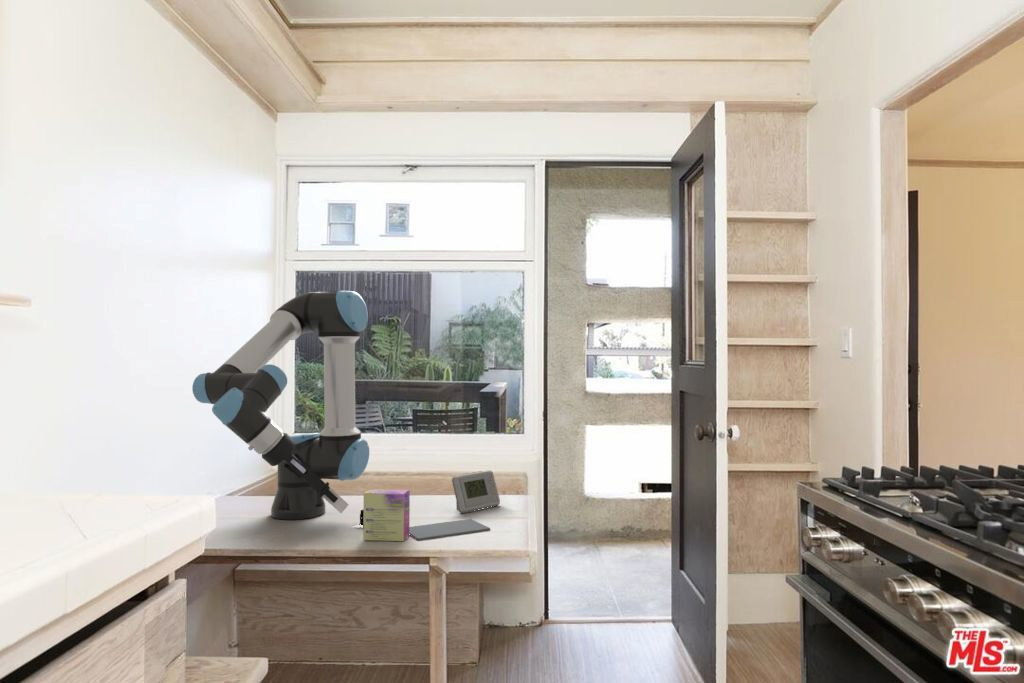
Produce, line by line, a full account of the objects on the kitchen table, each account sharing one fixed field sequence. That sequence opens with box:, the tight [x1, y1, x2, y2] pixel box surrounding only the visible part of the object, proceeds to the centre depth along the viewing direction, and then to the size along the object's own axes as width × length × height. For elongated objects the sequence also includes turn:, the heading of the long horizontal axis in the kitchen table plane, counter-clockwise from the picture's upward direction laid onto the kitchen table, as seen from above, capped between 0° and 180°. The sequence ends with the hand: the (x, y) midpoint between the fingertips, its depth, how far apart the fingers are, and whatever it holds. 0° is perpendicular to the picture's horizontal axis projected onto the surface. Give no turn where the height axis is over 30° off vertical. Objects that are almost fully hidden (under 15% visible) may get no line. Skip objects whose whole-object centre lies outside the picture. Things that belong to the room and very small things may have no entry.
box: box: [362, 488, 411, 542], centre depth 167 cm, size 10×6×12 cm, turn 84°
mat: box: [409, 518, 491, 541], centre depth 174 cm, size 12×20×1 cm, turn 119°
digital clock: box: [451, 469, 501, 514], centre depth 200 cm, size 16×9×11 cm, turn 124°
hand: (344, 508), depth 161 cm, fingers closed
